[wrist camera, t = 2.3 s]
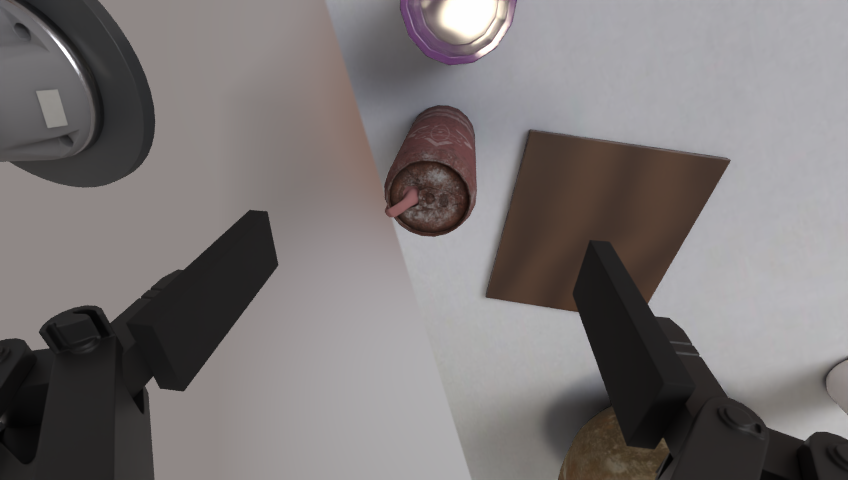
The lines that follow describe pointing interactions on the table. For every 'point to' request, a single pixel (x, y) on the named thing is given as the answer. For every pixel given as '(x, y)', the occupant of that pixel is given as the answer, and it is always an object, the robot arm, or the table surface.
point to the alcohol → (839, 385)
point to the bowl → (609, 453)
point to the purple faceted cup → (457, 27)
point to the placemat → (596, 213)
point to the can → (434, 174)
